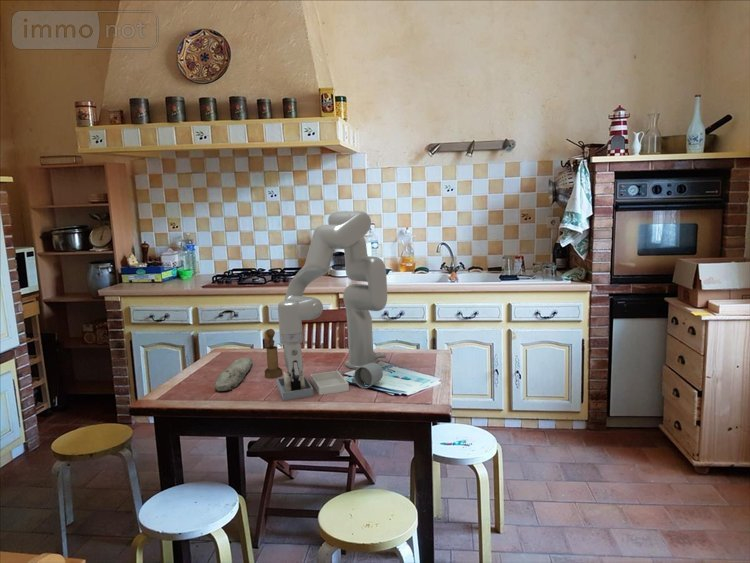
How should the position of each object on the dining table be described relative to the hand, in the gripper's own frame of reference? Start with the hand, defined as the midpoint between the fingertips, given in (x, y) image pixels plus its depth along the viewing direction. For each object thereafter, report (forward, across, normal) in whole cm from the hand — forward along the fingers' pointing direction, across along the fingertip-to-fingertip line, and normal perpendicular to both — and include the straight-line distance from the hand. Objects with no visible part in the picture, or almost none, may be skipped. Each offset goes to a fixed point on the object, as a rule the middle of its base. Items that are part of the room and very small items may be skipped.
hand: (294, 388), depth 190 cm
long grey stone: (+2, +26, +18) cm, 32 cm away
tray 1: (+1, 0, 0) cm, 1 cm away
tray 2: (+1, 0, -12) cm, 12 cm away
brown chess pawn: (+1, +20, +4) cm, 21 cm away
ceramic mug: (+1, -3, -24) cm, 25 cm away
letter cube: (+1, 0, 0) cm, 1 cm away
